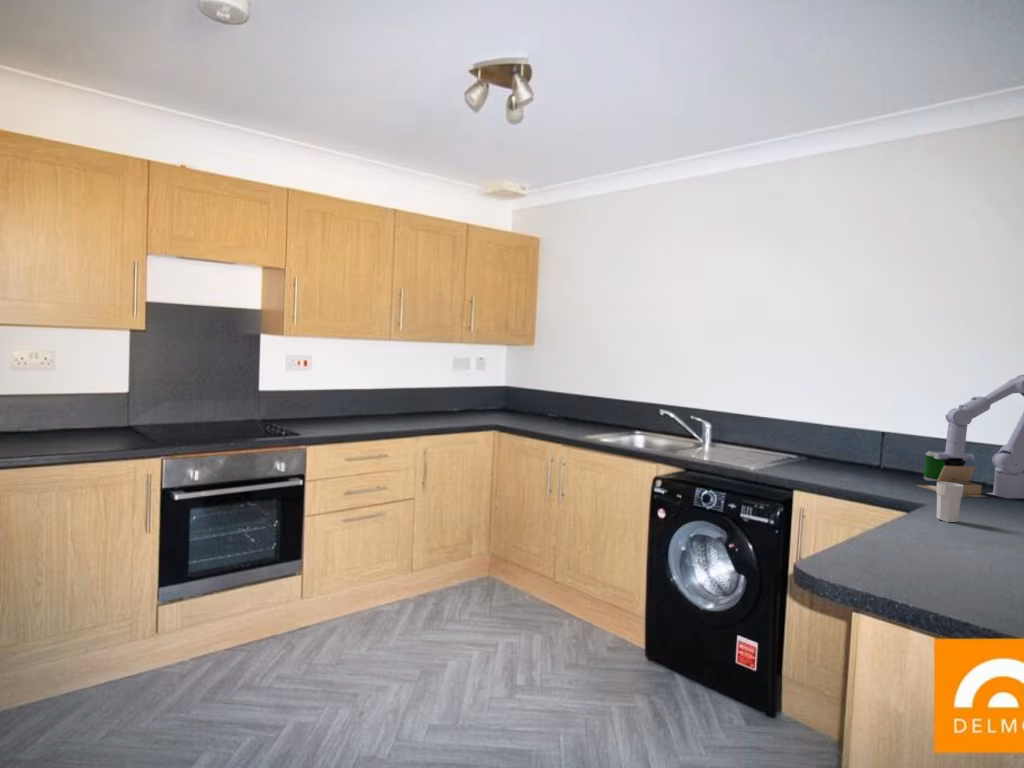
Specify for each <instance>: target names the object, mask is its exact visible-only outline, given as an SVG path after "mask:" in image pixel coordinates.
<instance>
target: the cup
mask: <svg viewBox="0 0 1024 768" xmlns="http://www.w3.org/2000/svg"><path fill="white" fill-rule="evenodd" d="M951 482H952V481H949V482H936V486H937V491H935V492H936V517H937V518H939V519H941V520H945V521H951V522H957V521H958V522H959V514H960V509H961V501H962V497H963V496H962V494H963V487H964V486H963V485H961V484H957V483H951ZM958 522H957V523H958Z"/></svg>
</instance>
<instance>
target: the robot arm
mask: <svg viewBox="0 0 1024 768" xmlns="http://www.w3.org/2000/svg"><path fill="white" fill-rule="evenodd" d="M1012 394H1020V395H1021V396H1022V397H1024V374H1020V375H1018V376H1017V375H1016V377H1013V378H1010V379H1009V380H1008V381H1007V382H1005V383H1004V384H1001V386H999V387H997V388H996V389H994V390H992V391H991V392H990V393H988V394H987V395H985V396H980V395H979V396H972V397H971V398H970V400H969V401H967V402H965V403H964V404H959V405H958V408H957V407H956V408H955V407H954V408H952V409H950V410H948V412H947V414H945V419H946V421H947V423H948V425H947V431H946V440H945V441H946V442H945V451H943V452H944V453H934V458H936V459H942V461H943V463H944V465H945V466H965V465H966V460H967V461H974V460H975V454H973V453H965V449H966V440H967V432H968V425H970V424H971V423H972V420H973V419H975V418H977V417H978V416H981V415H982V414H984V413H986V412H988V411H989V410H990V409H991V406H992V405H993V404H995V403H997V402H998V401H1001V400H1002V399H1005V398H1007V397H1008V396H1010V395H1012ZM991 461H992V465H993V466H994V467H995V468H994V479H993V480H994V481H993V490H992V492H987V494H989V495H992V496H996V497H999V498H1003V499H1024V474H1023V473H1022V472H1023V471H1024V411H1023V412H1022V413H1021V416H1020V418H1019V420H1018V422H1017V424H1016V426H1015V428H1014V429H1013V432H1012V433H1011V436H1010V437H1009V439H1008V441H1007V443H1006V444H1005V445H1003V446H1002V447H1000V448H999V451H997V452H996V453H995V454H994V455H993V456H992V459H991ZM952 480H956V479H952Z"/></svg>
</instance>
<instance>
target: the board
mask: <svg viewBox="0 0 1024 768" xmlns="http://www.w3.org/2000/svg"><path fill="white" fill-rule="evenodd" d="M915 486H916V487H919V488H923V489H926V490H930V491H934V492H936V491H937V485H920V484H919V485H918V484H916V485H915ZM962 497H980V498H983V497H985V498H986V497H987V498H988V497H989V496H987V495H983V494H981V495H962Z"/></svg>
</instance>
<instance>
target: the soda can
mask: <svg viewBox="0 0 1024 768" xmlns="http://www.w3.org/2000/svg"><path fill="white" fill-rule="evenodd" d="M944 452H945V451H940V450H939V451H938V450H928V451H927V452H925V459H924V468H923V469H924V470H923V480H925V481H926V480H927V481H931V483H932V482H934V483H937V482H938V478H939V476H940V474H941V472H942V469H943V467H944V466H945V465H944V463H943V461H942V459H936V458H934V453H944ZM927 481H926V482H927Z"/></svg>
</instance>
